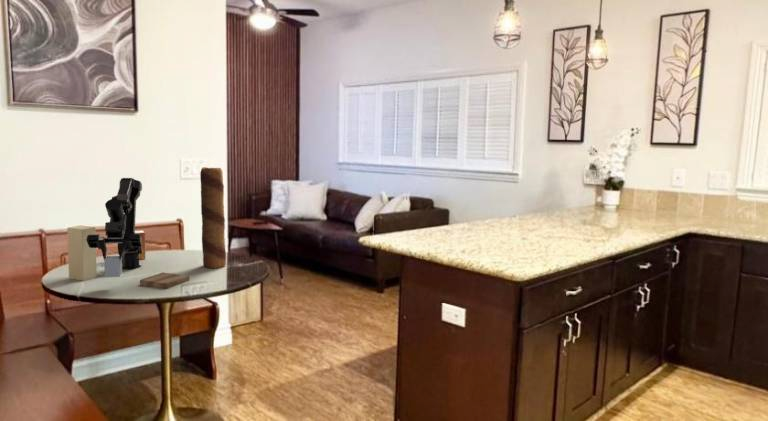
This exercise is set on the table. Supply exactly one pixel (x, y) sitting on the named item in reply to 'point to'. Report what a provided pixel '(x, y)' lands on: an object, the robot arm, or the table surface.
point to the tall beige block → (81, 253)
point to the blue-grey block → (113, 266)
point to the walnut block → (164, 280)
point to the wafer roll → (213, 217)
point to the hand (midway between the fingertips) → (112, 259)
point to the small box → (142, 233)
